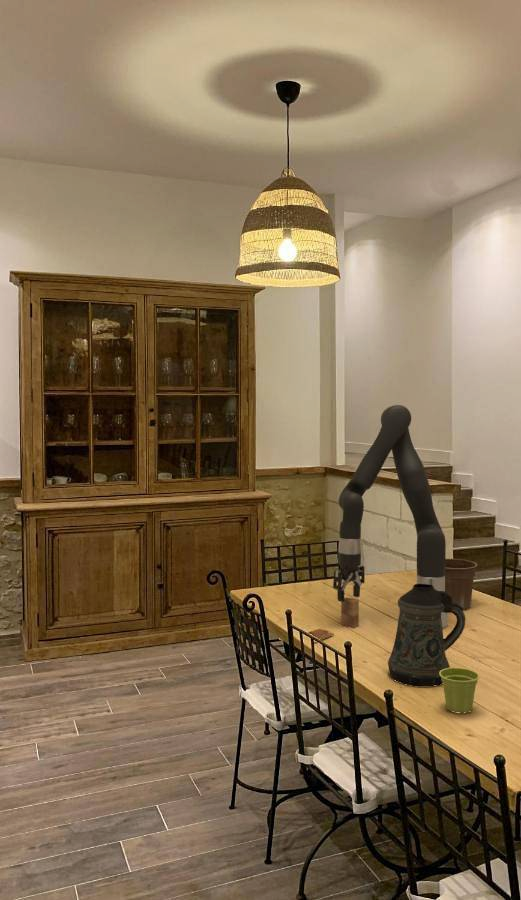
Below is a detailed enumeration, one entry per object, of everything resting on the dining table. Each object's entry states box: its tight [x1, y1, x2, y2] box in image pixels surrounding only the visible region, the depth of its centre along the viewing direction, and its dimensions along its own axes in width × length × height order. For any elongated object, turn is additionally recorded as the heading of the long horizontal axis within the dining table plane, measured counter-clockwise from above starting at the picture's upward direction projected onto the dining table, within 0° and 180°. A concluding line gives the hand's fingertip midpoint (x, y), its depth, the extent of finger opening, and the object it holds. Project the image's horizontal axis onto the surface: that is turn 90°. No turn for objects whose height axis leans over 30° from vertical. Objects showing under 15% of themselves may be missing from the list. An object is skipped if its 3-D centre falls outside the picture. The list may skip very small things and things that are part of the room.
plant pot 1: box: [445, 558, 478, 611], centre depth 270 cm, size 16×16×16 cm
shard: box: [307, 628, 335, 644], centre depth 234 cm, size 11×8×2 cm
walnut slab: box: [340, 596, 360, 629], centre depth 246 cm, size 5×3×9 cm, turn 47°
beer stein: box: [387, 583, 467, 688], centre depth 200 cm, size 16×19×25 cm
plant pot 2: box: [439, 667, 480, 714], centre depth 178 cm, size 9×9×9 cm
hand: (348, 598), depth 247 cm, fingers open, 8 cm apart
